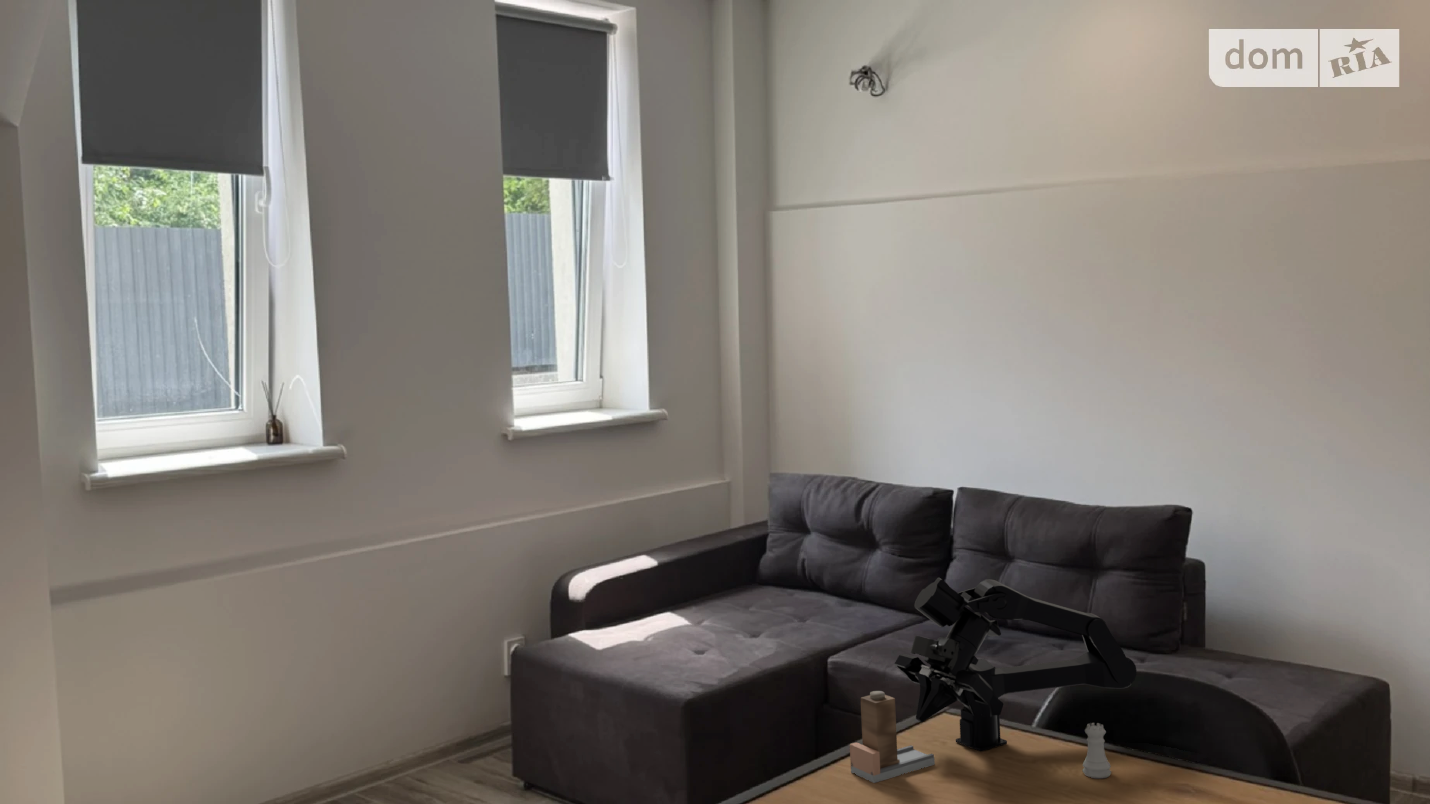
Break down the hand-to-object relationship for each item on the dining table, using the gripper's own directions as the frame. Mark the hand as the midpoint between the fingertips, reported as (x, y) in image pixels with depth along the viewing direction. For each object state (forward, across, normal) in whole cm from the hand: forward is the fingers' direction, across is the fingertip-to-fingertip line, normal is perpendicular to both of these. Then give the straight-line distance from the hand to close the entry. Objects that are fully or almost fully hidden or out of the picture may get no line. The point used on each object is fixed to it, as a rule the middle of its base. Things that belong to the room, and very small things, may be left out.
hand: (918, 720), depth 200 cm
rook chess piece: (-7, +23, +17) cm, 29 cm away
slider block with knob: (+10, -1, -2) cm, 10 cm away
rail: (+9, -1, +1) cm, 9 cm away
